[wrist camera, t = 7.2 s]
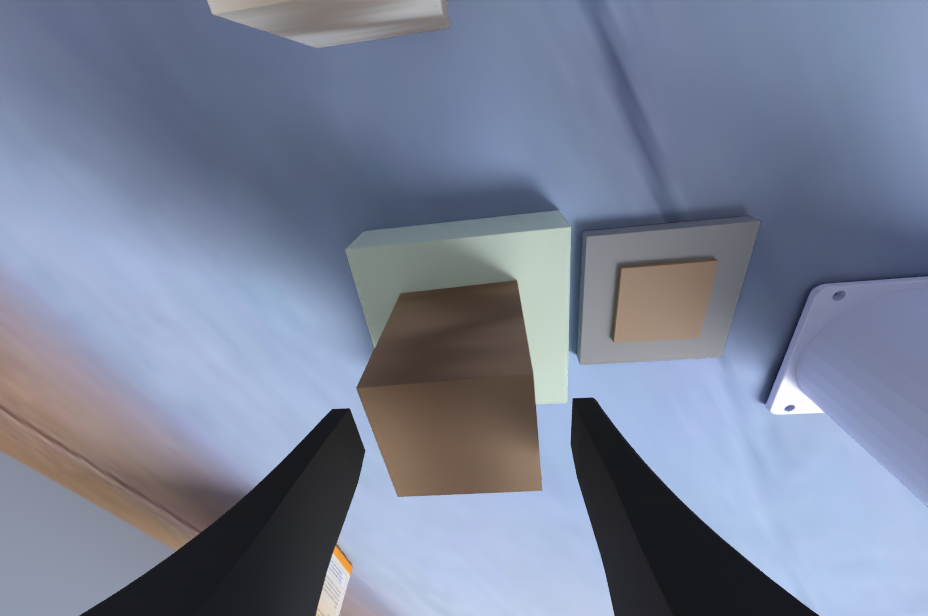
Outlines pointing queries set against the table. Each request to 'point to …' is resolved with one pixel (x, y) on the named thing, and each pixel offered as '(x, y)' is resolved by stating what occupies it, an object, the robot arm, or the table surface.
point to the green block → (478, 277)
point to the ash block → (335, 18)
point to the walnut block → (455, 393)
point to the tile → (661, 289)
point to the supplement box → (334, 585)
